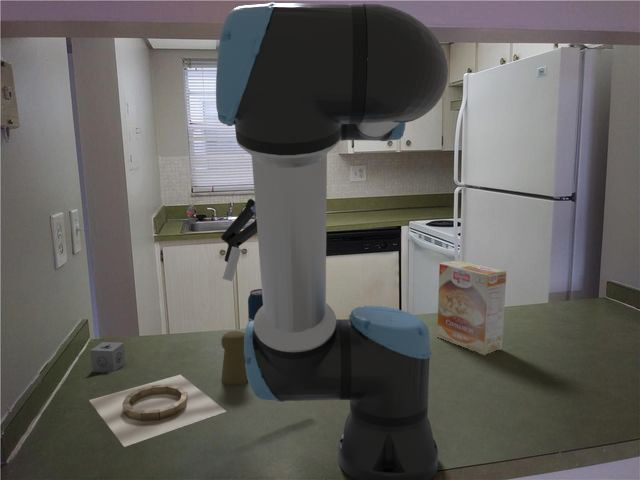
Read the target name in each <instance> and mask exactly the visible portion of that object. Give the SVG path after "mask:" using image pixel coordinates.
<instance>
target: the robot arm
mask: <svg viewBox="0 0 640 480" xmlns="http://www.w3.org/2000/svg"><path fill="white" fill-rule="evenodd" d="M446 56H447V55H446V54H445V49H444V48H443V46H442V44H441V43H440V41H439V39H438V37H436V36H435V34H434V33H433V32H432V30H431V29H429V28H428V26H426V25H425V24H424V22H421V21H420V20H419V19H417V18H416V17H415V16H413V15H411V14H409V13H408V12H406V11H403V10H400V9H398V8H395V7H394V6H393V7H392V6H388V5H382V4H377V3H376V4H374V3H363V4H343V3H342V4H337V3H335V4H331V3H330V4H329V3H326V4H325V3H324V4H323V3H276V2H269V3H264V4H261V3H260V4H249V5H240V6H237V7H234V8H233V9H232V10H230V11H229V13H228V14H227V16H226V17H225V19H224V22H223V24H222V28H221V32H220V37H219V45H218V51H217V61H216V63H217V64H216V78H215V104H216V111H217V118H218V121H219V122H220V123H221V124H222V125H226V126H227V127H232V126H234V129H235V138H236V143H237V145H238V146H239V147H240V148H241V149H242V150H244V151H245V152H246V153H248V154H249V155H250V156H251V164H252V165H251V166H252V177H253V178H252V179H253V188H254V189H253V190H254V191H253V192H254V199H252V198H249V199H248V200H247V201H246V204H245V207H244V209H243V210H242V211H241V212H240V214H239V215H238V216H237V217H236V218H235V220H234V221H233V222H232V223H231V224H230V225H229V227H228V228H227V229H226V230H225V231H224V233H222V235H221V236H220V239H221V240H222V241H224V243H227V246H228V247H227V249H226V253H225V256H224V262H226V265H225V266H226V267H225V270H224V272H223V273H224V274H223V276H222V279H223V280H226V281H230V282H233V281H234V276H235V272H236V269H237V266H238V262H239V259H240V255H241V252H242V249H241V248H240V246H242V245H243V244H244V243H246V242H247V241H248V240H249V239H251V238H252V237H253V236H255V235H256V234H257V240H258V242H257V243H258V244H257V245H258V255H259V257H258V258H259V269H260V280H261V281H260V282H261V289H262V297H263V306H262V307H261V308H260V309H259V310H258V312H257V313H256V315H255V318H254V320H253V321H250V322H249V321H248V323H247V325H246V328H245V330H244V331H245V332H244V333H245V337H244V355H245V361H246V363H245V367H246V374H247V378H248V381H247V382H248V384H249V388H250V390H251V393H252V394H253V395H254V396H255V397H257V398H258V399H260V400H264V401H277V402H281V403H282V402H283V403H284V402H291V401H293V402H298V401H299V402H301V401H302V402H303V401H343V400H344V401H349V411H348V415H347V418H346V420H345V423H344V428H343V431H342V433H341V436H340V438H339V440H338V445H337V446H338V447H337V448H338V449H337V451H338V455H337V456H338V457H337V458H338V459H337V461H338V464H339V466H340V469H341V470H342V471H343V472H344V473H345V475H347V476H348V477H349V478H350V479H352V480H431V479H433V478H434V476H435V475H436V474H437V472H438V467H439V448H438V444H437V442H436V440H435V438H434V436H433V430H432V427H431V422H430V419H429V413H428V412H429V387H430V385H429V384H430V381H429V379H430V358H431V356H432V351H431V343H430V342H431V341H430V338H431V337H430V330H429V327H428V326H427V324H426V323H425V322H424V321H423V320H422V319H421V318H419V317H418V316H416V315H414V314H412V313H409V312H408V311H404V310H401V309H397V308H393V307H387V306H381V305H364V306H359V307H355V308H353V309H352V310H351V312H350V314H349V316H348V319H338V318H337V315H336V314H335V311H334V310H333V308H332V307H331V306H330V305H329V304H328V303H327V298H326V297H327V205H328V204H327V200H328V199H327V196H328V195H327V194H328V193H327V191H328V188H327V185H328V184H327V183H328V182H327V181H328V154H329V152H331V151H332V150H334V149H335V147H336V146H338V144H339V143H340V141H375V142H376V141H377V142H378V141H379V142H388V141H397V140H400V139H402V137H403V136H404V132H405V129H406V123H409V122H413V121H416V120H418V119H420V118H422V117H423V116H425V115H426V114H427V113H429V112H431V110H432V109H433V108H435V107H436V106H437V104H438V103H439V101H440V100H441V98H442V96H443V94H444V92H445V90H446V86H447V83H448V77H449V76H448V75H449V68H448V65H449V64H448V59H447V57H446ZM254 216H256V218H255V219H254V221H252V222H251V223H250V224H249V225H248V226H246V225H247V224H248V223H249V221H251V219H252V218H253V217H254ZM245 226H246V227H245ZM244 227H245V228H244Z"/></svg>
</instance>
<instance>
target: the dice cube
mask: <svg viewBox="0 0 640 480" xmlns="http://www.w3.org/2000/svg"><path fill="white" fill-rule="evenodd" d="M89 352H90V363H91V372H92V373H105V372H110V373H113V372H117V371H119V370H120V368H122V367H123V366H124V365H126V356H125V344H124V342H113V341H111V342H109V341H107V342H106V341H101V342H100V343H99V344H97V345H96V346H95V347H93V348H91V349H90V350H89Z"/></svg>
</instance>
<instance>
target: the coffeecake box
mask: <svg viewBox="0 0 640 480" xmlns="http://www.w3.org/2000/svg"><path fill="white" fill-rule="evenodd" d="M438 270H439V275H438V277H439V278H438V301H437V303H438V304H437V327H436V328H437V331H436V338H437V337H439V338H438V339H440V338H442V339H444V340H443V341H445V340H447V341H450V342H452V343H451V344H453V343H455V344H457V345H456V346H458V345H460V346H462V347H461V348H463V347H465V348H468V349H470V350H469V351H471V350H473V351H476V352H479V353H481V354H486V353H489V352H493V351H496V350H499V349H502V350H503V340H504V337H503V336H504V324H505V323H504V320H505V319H504V318H505V302H506V301H505V300H506V286H507V285H506V284H507V270H503V269H497V268H493V267H490V266H485V265H480V264H475V263H471V262H467V261H462V260H453V261H443V262H440V263H439V269H438ZM442 339H441V340H442ZM447 341H446V342H447ZM450 342H449V343H450ZM455 344H454V345H455ZM460 346H459V347H460ZM465 348H464V349H465ZM468 349H467V350H468ZM473 351H472V352H473ZM476 352H475V353H476ZM493 353H494V352H493ZM481 354H480V355H481Z"/></svg>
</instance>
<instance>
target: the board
mask: <svg viewBox="0 0 640 480" xmlns="http://www.w3.org/2000/svg"><path fill="white" fill-rule="evenodd" d="M165 384H170V385H175V386H180V387H182V388H183V389H184V390H186V391H187V392H188V402H187V406H186V408H185V409H183V410H182V411H181V412H179V413H178V414H177V415H174V416H171V417H168V418H165V419H162V420H156V421H137V420H133V419H129V418H128V417H127V416H126V415H125V414H124V413H123V405H122V404H123V402H124V400H125V397H126V396H128V395H129V394H131V393H132V392H134V391H136V390H138V389H141V388H145V387H148V386H153V385H165ZM179 400H180V398H179V397H177V396H174V395H169V394H159V395H151V396H148V397H145V398H141V399H140V400H138V401H136V402H135V403H133V404H132V405H131V406H132V407H133V408H135V409H140V410H158V409H162V408H165V407H168V406H171V405H173V404H174V403H176V402H177V401H179ZM88 401H89V403H91V404H90V405H92V407H93V408H94V409H95V410H96V411H97V413H98V415H99V417H101V419H102V420H103V421H104V422H105V424H106V425H107V427H109V430H110V431H111V432H112V433H113V434H114V436H115V438H116V439H117V440H118V441H119V442H120V444H121V445H122V446H123V448H126V447H129V446H132V445H135V444H138V443H141V442H144V441H147V440H149V439H152V438H155V437H158V436H161V435H163V434H166V433H169V432H173V431H176V430H178V429H181V428H184V427H186V426H187V427H188V426H190V425H192V424H197V423H199V422H201V421H204V420H207V419H210V418H212V417H216V416H218V415H221V414H224V413H227V412H228V411H227V410H226V409H224V408H223V407H222V406H220V405H219V404H218V403H216V402H215V400H214V399H212V398H211V397H209V396H208V395H207V394H205V393H204V392H203V391H202V390H201V389H199V388H198V387H196V386H195V385H194V384H193V383H192V382H191V381H189V380H188V379H187V378H186V377H184V376H182V374H177V375H173V376H170V377H166V378H163V379H160V380H156V381H153V382H149V383H145V384H142V385H138V386H135V387H131V388H128V389H124V390H120V391H117V392H112V393H110V394H106V395H103V396H99V397H95V398H92V399H89V400H88Z"/></svg>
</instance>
